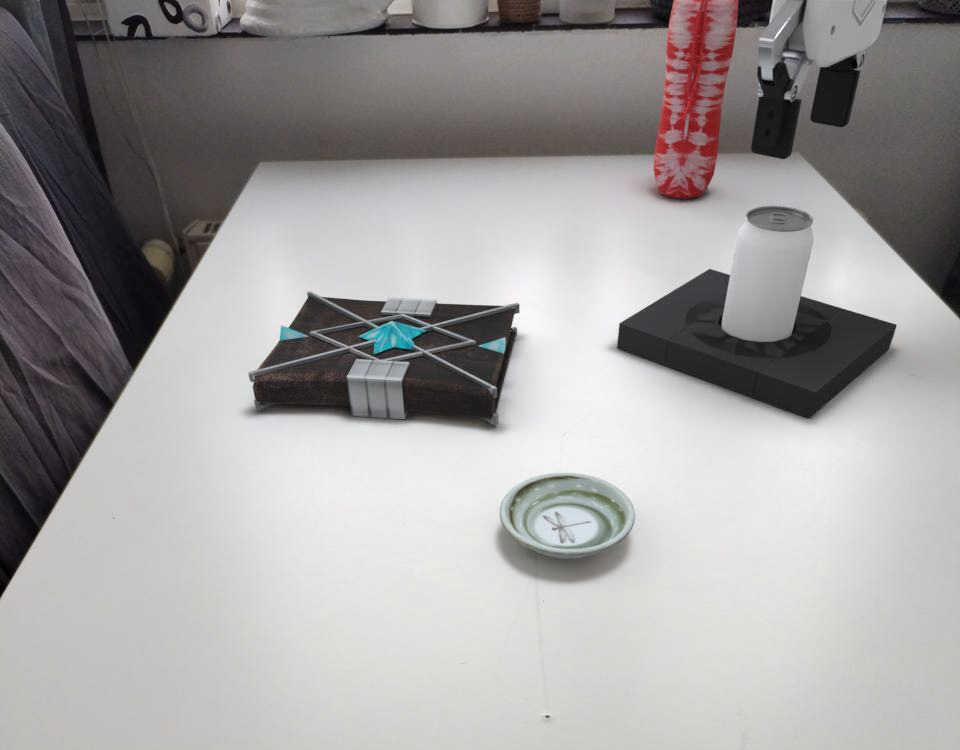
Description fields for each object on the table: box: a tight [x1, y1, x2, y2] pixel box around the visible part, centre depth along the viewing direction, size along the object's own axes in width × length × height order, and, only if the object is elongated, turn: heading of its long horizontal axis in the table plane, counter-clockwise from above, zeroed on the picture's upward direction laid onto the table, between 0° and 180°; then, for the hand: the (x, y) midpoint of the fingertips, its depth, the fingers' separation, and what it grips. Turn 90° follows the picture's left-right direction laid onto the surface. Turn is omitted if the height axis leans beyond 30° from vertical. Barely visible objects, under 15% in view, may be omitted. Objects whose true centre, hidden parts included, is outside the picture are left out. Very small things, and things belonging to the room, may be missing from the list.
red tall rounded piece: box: [653, 0, 739, 200], centre depth 107 cm, size 12×8×25 cm, turn 162°
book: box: [247, 290, 520, 427], centre depth 81 cm, size 22×17×5 cm
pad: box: [616, 268, 897, 419], centre depth 84 cm, size 20×16×2 cm
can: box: [721, 205, 814, 342], centre depth 81 cm, size 6×6×12 cm
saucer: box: [499, 472, 636, 559], centre depth 64 cm, size 10×10×2 cm
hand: (800, 139), depth 72 cm, fingers open, 9 cm apart
